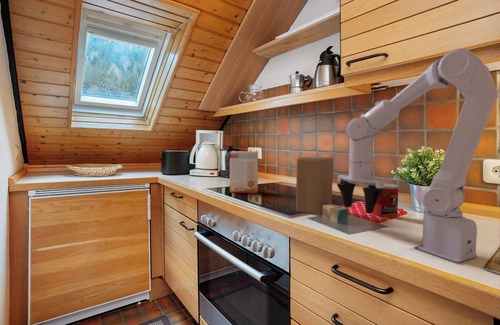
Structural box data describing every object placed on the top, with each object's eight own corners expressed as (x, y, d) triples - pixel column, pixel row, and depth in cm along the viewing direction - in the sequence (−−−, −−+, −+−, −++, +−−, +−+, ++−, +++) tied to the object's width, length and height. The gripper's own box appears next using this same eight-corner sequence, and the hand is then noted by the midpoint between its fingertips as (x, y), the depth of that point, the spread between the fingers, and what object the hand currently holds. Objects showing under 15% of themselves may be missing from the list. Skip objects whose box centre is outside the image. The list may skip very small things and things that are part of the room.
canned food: (383, 220, 88) (385, 187, 87) (366, 214, 95) (367, 183, 94) (402, 219, 90) (404, 186, 89) (384, 213, 97) (385, 183, 97)
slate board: (389, 229, 79) (389, 226, 79) (349, 237, 72) (349, 234, 71) (342, 214, 95) (342, 212, 95) (306, 220, 88) (306, 217, 88)
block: (307, 208, 105) (308, 156, 104) (332, 212, 99) (334, 157, 97) (294, 212, 97) (295, 157, 96) (320, 217, 91) (322, 158, 90)
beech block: (348, 208, 83) (332, 204, 90) (338, 210, 81) (322, 205, 88) (347, 221, 84) (331, 216, 90) (338, 223, 82) (322, 217, 88)
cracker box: (257, 191, 142) (258, 151, 140) (256, 193, 136) (257, 151, 134) (231, 190, 143) (231, 151, 142) (229, 192, 137) (229, 151, 136)
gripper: (392, 163, 72) (390, 214, 73) (350, 160, 85) (348, 203, 86) (374, 164, 69) (372, 217, 69) (333, 160, 82) (331, 205, 82)
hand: (358, 209), depth 77 cm, fingers open, 7 cm apart
